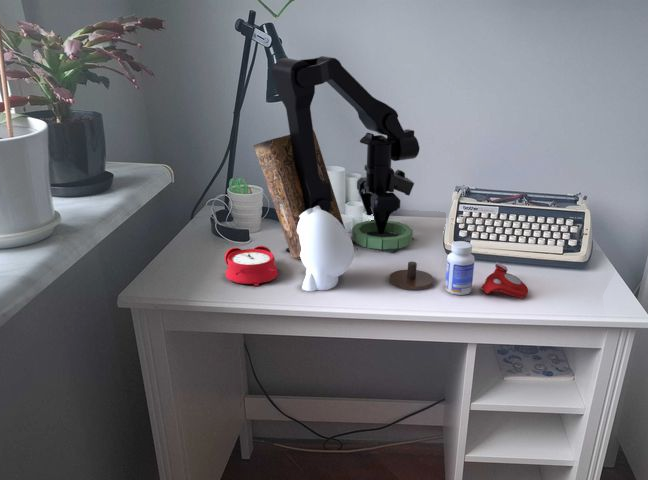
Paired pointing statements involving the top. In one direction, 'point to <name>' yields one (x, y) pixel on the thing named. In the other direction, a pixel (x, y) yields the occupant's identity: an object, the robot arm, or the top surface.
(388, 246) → the ring
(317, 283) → the figurine
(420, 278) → the ring stand
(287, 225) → the book
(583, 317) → the top surface
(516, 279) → the tracker holder
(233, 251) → the alarm clock
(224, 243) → the top surface
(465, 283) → the pill bottle
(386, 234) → the mat
